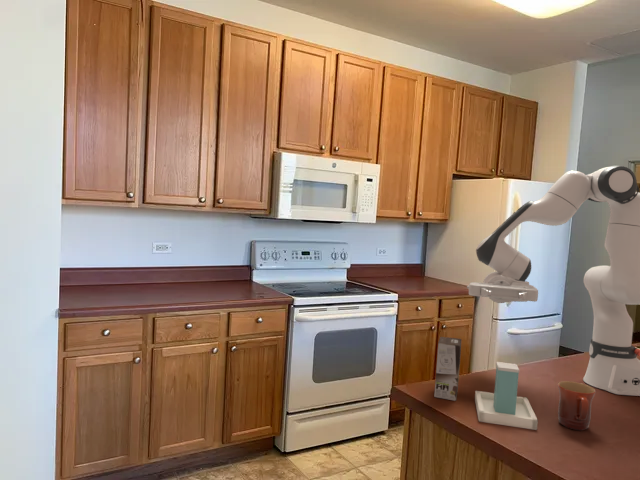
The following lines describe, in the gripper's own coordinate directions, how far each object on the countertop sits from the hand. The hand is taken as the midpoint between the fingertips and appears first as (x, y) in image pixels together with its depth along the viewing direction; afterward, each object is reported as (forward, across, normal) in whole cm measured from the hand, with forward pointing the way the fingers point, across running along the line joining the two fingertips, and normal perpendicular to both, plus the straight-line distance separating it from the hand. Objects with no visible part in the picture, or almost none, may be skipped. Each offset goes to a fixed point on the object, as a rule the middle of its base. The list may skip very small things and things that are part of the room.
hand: (505, 295), depth 145 cm
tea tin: (+15, 0, +29) cm, 33 cm away
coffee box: (+6, -15, +30) cm, 34 cm away
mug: (+18, +17, +30) cm, 39 cm away
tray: (+15, 0, +30) cm, 34 cm away
